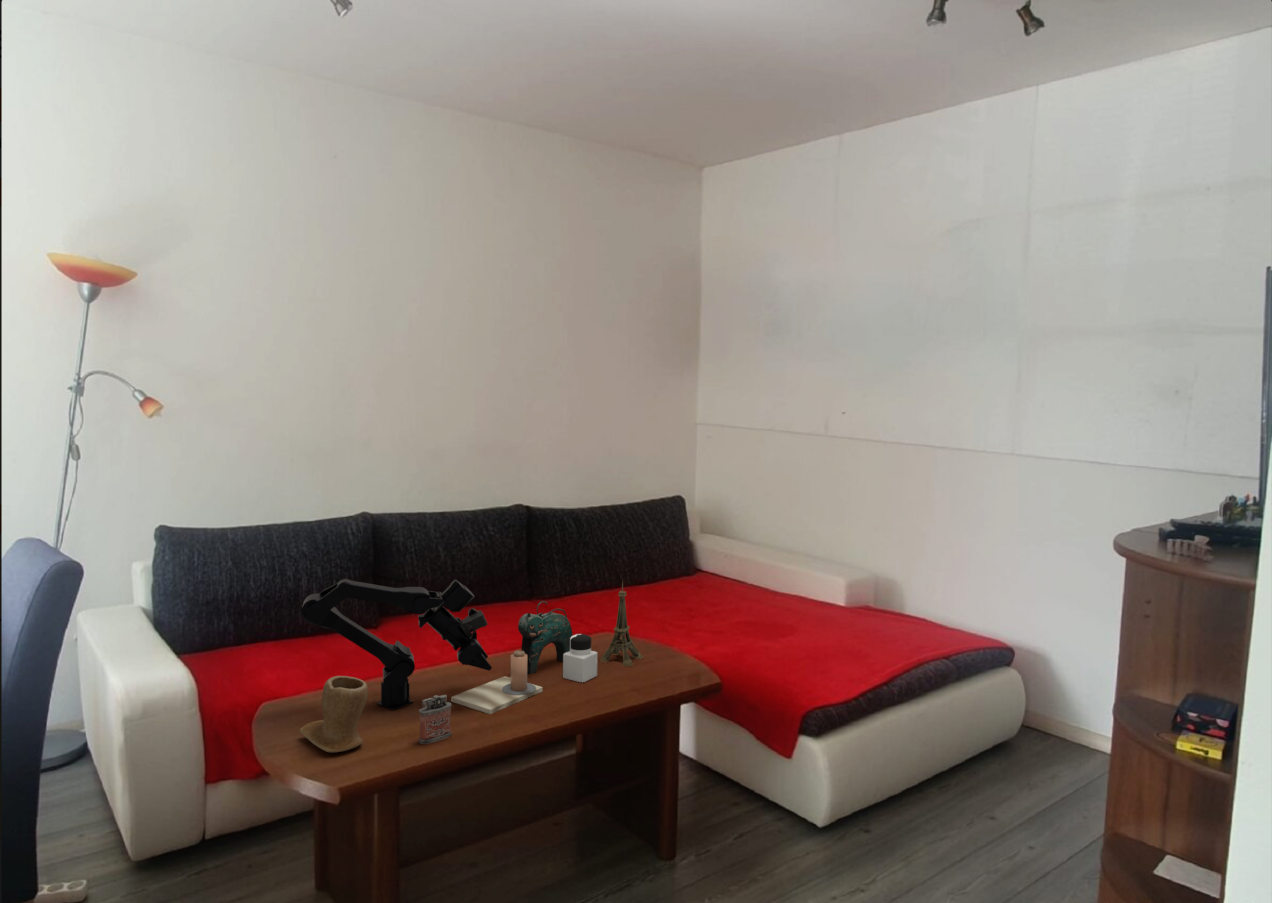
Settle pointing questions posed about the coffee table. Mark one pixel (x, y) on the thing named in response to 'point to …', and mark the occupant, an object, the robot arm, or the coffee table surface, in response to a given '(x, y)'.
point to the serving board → (494, 695)
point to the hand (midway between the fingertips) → (488, 663)
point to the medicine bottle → (580, 659)
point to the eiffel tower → (620, 632)
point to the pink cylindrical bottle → (518, 671)
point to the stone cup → (339, 715)
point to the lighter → (435, 719)
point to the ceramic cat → (544, 635)
